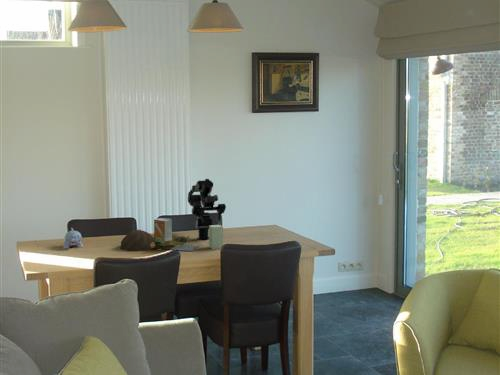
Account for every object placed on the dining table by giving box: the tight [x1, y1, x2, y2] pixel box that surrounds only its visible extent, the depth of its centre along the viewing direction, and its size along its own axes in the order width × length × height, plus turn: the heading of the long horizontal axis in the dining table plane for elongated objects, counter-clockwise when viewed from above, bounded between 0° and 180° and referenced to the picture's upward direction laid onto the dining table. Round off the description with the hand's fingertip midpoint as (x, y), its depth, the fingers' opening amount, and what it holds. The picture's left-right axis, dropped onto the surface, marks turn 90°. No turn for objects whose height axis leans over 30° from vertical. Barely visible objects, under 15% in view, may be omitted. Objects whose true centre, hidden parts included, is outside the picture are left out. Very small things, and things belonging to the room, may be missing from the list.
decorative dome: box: [120, 229, 155, 252], centre depth 399 cm, size 19×20×10 cm
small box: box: [153, 217, 173, 241], centre depth 413 cm, size 8×6×13 cm
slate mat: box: [169, 244, 199, 253], centre depth 396 cm, size 12×12×1 cm
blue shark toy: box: [62, 227, 84, 249], centre depth 399 cm, size 11×15×10 cm
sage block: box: [208, 224, 224, 250], centre depth 399 cm, size 6×6×12 cm
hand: (211, 221), depth 405 cm, fingers open, 9 cm apart
